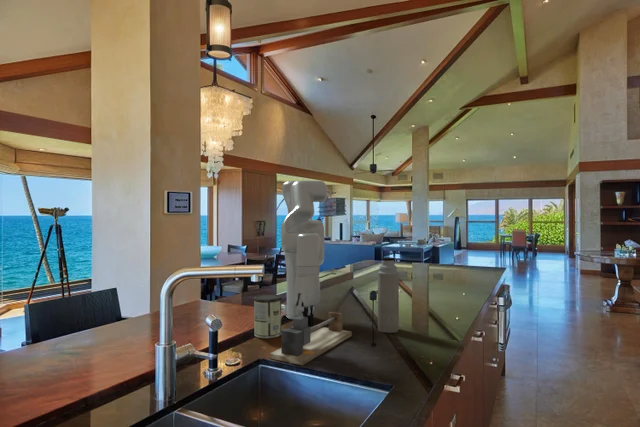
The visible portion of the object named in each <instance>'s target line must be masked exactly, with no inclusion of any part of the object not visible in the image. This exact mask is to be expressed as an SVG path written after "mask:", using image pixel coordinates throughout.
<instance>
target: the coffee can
mask: <svg viewBox="0 0 640 427" xmlns="http://www.w3.org/2000/svg"><path fill="white" fill-rule="evenodd" d="M282 298H283V297H282V295H280V294H275V293H269V294H268V293H267V294H264V293H263V294H258V295H255V296H254V297H253V301H254V302H253V303H254V304H253V308H254V309H253V313H254V314H253V317H254V318H253V319H254V328H253V330H254V336H255V337H256V338H260V339H274V338H277V337H280V336H281V331H282V310H281V305H282Z"/></svg>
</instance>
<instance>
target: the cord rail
mask: <svg viewBox="0 0 640 427" xmlns="http://www.w3.org/2000/svg"><path fill="white" fill-rule="evenodd" d="M327 325H328V327H327ZM325 326H326V327H325ZM280 336H281V337H280V338H281V341H280V342H281V347H280V348H278V349H276V350H274V351H272V352H270V353H269V359H270V360H271V359H272V360H276V361H281V362H285V363H291V364H295V365H297V366H298V365H300V366H304V365H305V364H308V363H309V362H310V361H313V360H314V359H315V358H317V357H319V356H320V355H323V354H324V353H325V352H327V351H328V350H331V349H332V348H334V347H336V346H337V345H339V344H340V343H342V342H344V341H345V340H347V339H349V338H351V337H352V336H353V332H352V331H351V330H344V329H343V312H336V311H329V312H328V319H327V320H325V321H323V322H320V323H319V324H316V325H313V326H312V327H310V343H308V344H306V345H304V346H303V331H300V330H294V329H291V328H284V329H281V335H280Z"/></svg>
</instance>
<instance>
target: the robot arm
mask: <svg viewBox="0 0 640 427" xmlns="http://www.w3.org/2000/svg"><path fill="white" fill-rule="evenodd" d="M328 195H329V194H328V187H327V183H326V182H324V181H322V180H289V181H285V182H284V183H283V184H282V197H283V200H284V202H285V204H286V208H287V215H286V216H285V218H284V219H283V221H282V223H281V225H280V246H281V249H282V251H283V252H284V261H285V268H286V304H281V311H284V313H286V314H287V315H286V317H287V318H288V319H287V318H286V319H287V320H293V318H296V317H298V316H305V317H308V326H310V328H312V327H314V314H315V308H316V307H317V306H318V304H319V303H320V300H321V283H320V266H321V265H323V263H324V261H325V226H324V223H323V222H322V221H321V220H320V219H312V218H313V217H314V216H315V206H314V203H325V201H326V200H328V199H327V198H328Z"/></svg>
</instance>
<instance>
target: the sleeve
mask: <svg viewBox="0 0 640 427" xmlns="http://www.w3.org/2000/svg"><path fill="white" fill-rule="evenodd" d="M310 328H311V327H310V326H308V317H305V316H298V317H296V318H293V319H292V326H291V327H290V329H294V330H300V331H303V346H304V345H306V344H308V343H310V333H311V332H310Z"/></svg>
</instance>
